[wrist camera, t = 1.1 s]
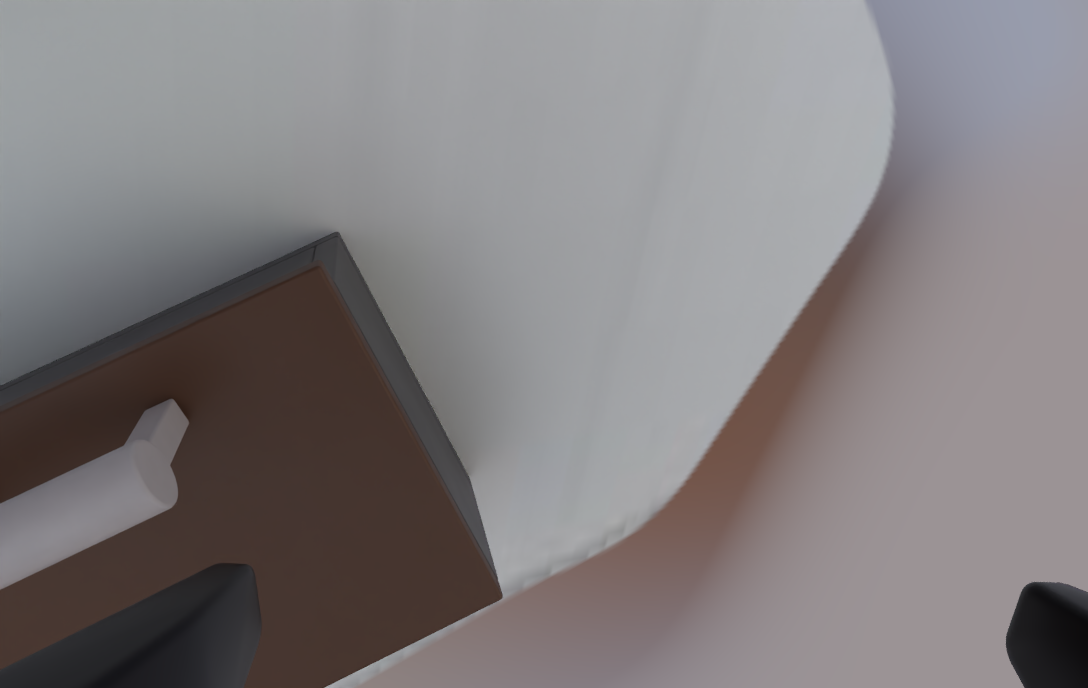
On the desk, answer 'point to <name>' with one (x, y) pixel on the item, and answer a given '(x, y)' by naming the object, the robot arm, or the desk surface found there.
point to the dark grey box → (365, 317)
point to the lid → (236, 489)
